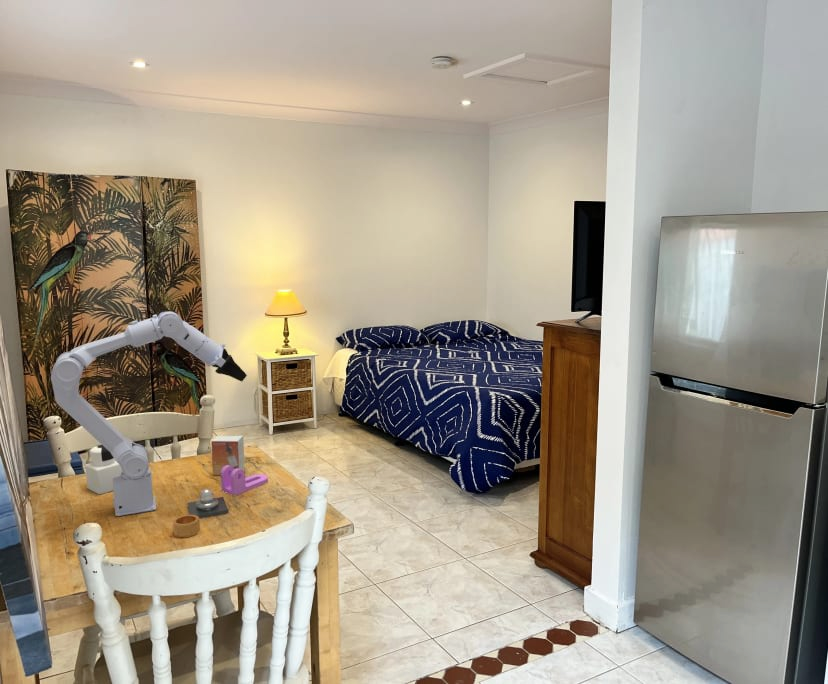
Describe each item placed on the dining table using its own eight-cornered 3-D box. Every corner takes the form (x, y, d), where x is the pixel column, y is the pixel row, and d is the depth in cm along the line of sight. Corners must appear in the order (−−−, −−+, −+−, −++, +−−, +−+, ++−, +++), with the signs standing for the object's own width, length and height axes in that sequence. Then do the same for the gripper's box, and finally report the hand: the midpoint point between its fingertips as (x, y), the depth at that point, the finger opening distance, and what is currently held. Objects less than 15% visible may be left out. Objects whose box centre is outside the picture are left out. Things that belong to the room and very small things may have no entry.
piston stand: (190, 519, 166) (189, 498, 165) (187, 506, 174) (186, 485, 173) (228, 513, 169) (227, 492, 168) (223, 500, 177) (222, 480, 176)
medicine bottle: (112, 481, 191) (108, 440, 189) (124, 487, 187) (121, 445, 185) (87, 489, 186) (82, 447, 184) (99, 495, 182) (95, 452, 180)
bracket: (234, 496, 180) (233, 471, 179) (221, 491, 184) (220, 467, 182) (271, 481, 190) (270, 458, 189) (258, 477, 194) (257, 454, 193)
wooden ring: (174, 539, 155) (173, 527, 155) (173, 529, 161) (172, 517, 160) (201, 534, 158) (200, 522, 157) (198, 524, 163) (197, 513, 162)
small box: (212, 475, 195) (210, 440, 193) (218, 468, 200) (216, 434, 199) (239, 476, 195) (237, 441, 193) (245, 469, 200) (243, 435, 198)
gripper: (213, 336, 167) (256, 368, 172) (206, 329, 180) (246, 358, 186) (194, 359, 166) (239, 390, 171) (189, 350, 179) (230, 379, 185)
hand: (242, 375), depth 178 cm, fingers open, 7 cm apart
